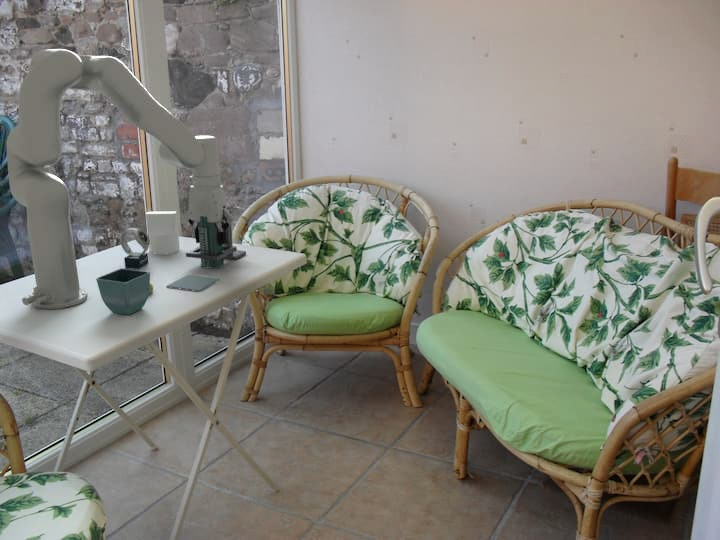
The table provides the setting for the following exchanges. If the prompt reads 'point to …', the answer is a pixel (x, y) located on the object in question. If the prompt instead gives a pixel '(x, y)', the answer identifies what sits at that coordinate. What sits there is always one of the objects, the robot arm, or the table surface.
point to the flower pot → (124, 290)
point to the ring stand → (227, 253)
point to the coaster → (193, 282)
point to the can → (209, 242)
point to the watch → (135, 258)
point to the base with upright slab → (162, 232)
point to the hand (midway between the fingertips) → (211, 242)
